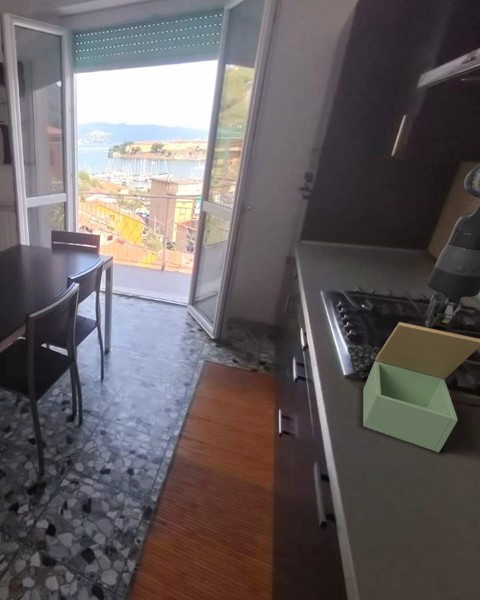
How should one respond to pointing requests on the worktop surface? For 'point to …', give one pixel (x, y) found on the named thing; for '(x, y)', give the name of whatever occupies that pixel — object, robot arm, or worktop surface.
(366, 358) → the fruit
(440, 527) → the worktop surface
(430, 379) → the bin
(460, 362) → the bin lid
